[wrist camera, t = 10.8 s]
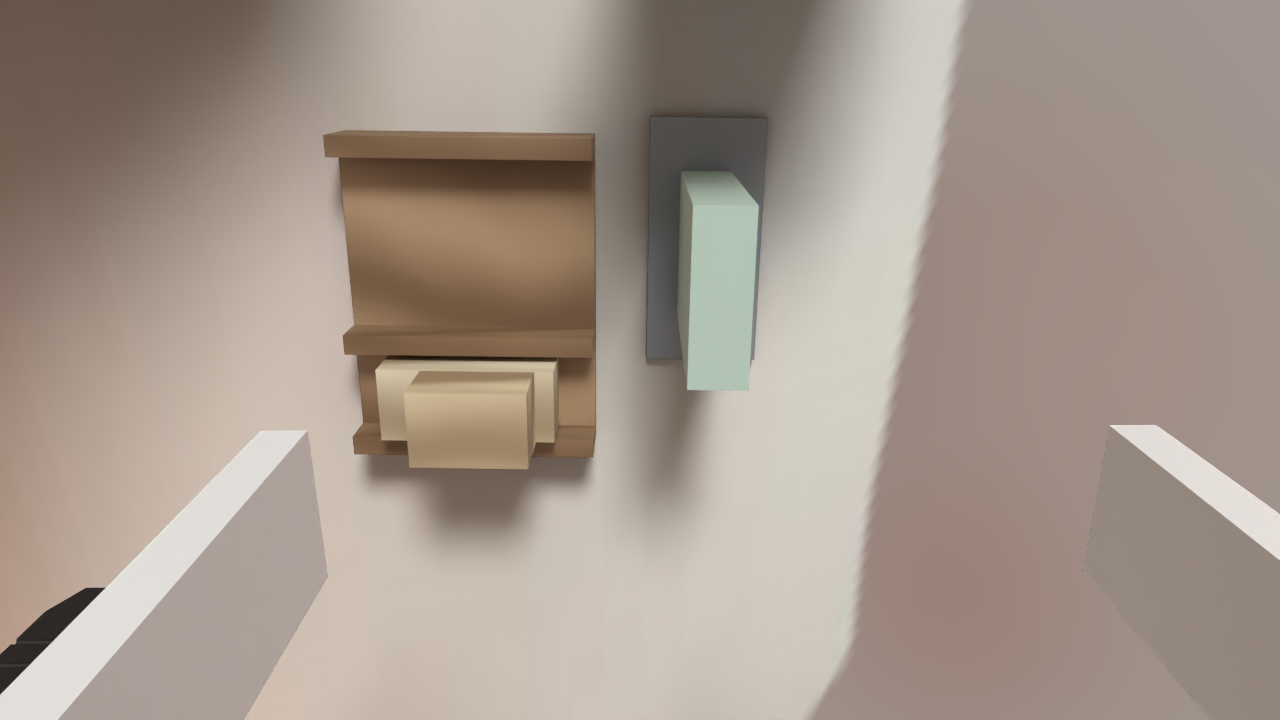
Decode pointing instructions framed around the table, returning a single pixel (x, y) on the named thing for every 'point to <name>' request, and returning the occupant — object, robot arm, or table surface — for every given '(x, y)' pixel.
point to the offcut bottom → (404, 368)
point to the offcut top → (470, 420)
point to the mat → (671, 153)
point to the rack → (472, 260)
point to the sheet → (716, 279)
